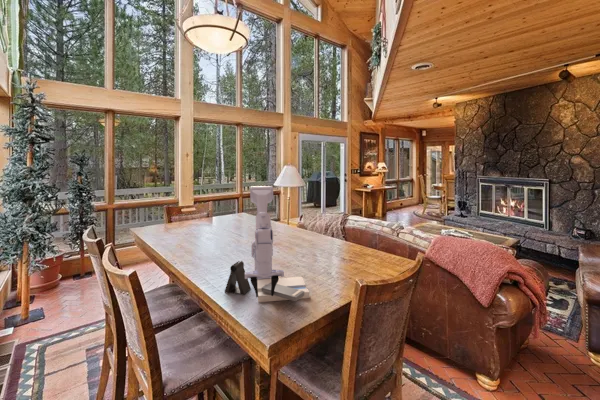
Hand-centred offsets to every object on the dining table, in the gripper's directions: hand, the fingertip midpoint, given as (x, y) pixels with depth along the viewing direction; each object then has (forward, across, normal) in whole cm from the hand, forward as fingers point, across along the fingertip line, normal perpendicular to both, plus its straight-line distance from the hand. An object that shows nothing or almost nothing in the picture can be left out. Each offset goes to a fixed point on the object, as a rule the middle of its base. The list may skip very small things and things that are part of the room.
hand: (264, 295), depth 109 cm
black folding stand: (+3, -10, +14) cm, 18 cm away
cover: (0, +7, +2) cm, 7 cm away
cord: (+2, +12, +8) cm, 15 cm away
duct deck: (+3, +8, +10) cm, 13 cm away
